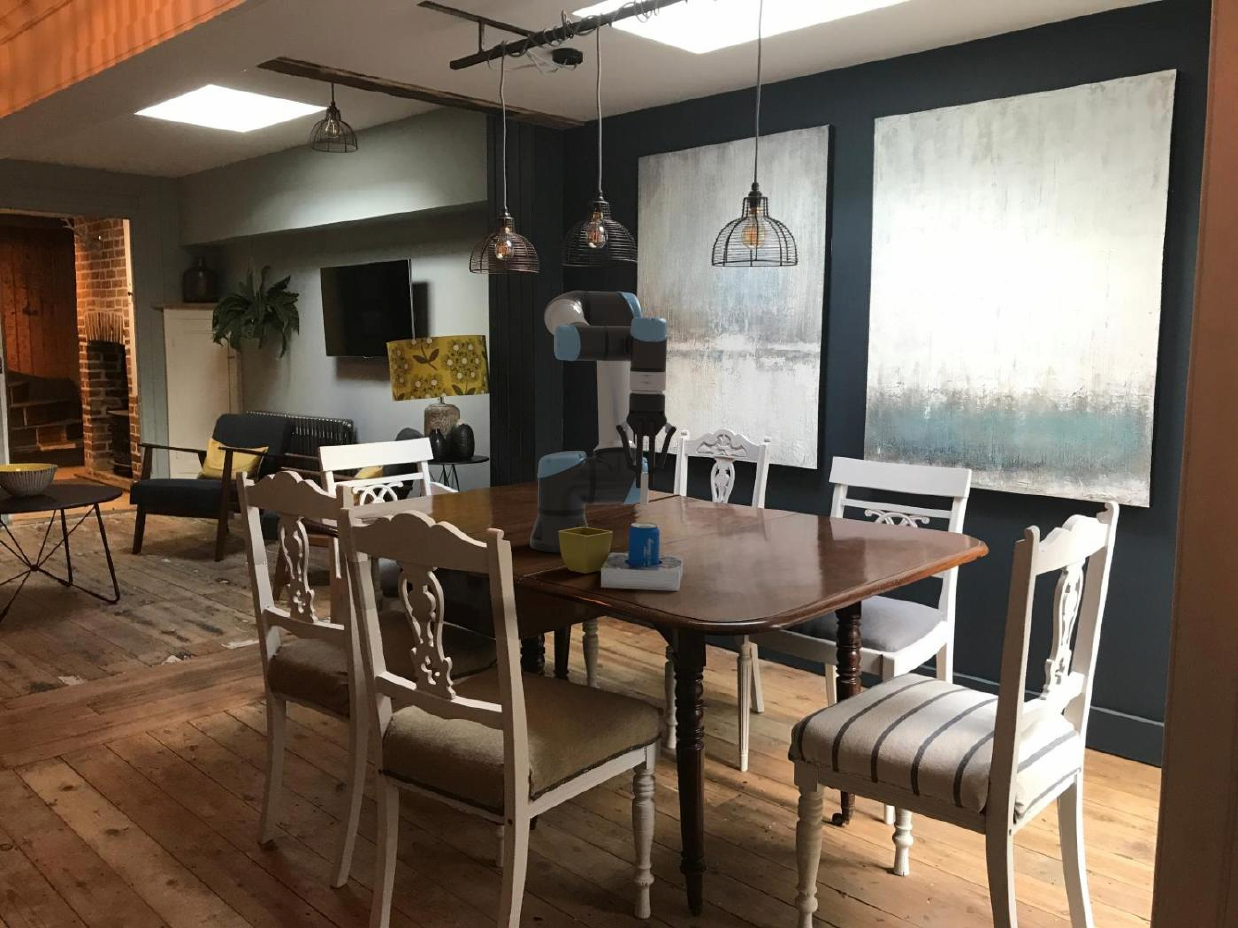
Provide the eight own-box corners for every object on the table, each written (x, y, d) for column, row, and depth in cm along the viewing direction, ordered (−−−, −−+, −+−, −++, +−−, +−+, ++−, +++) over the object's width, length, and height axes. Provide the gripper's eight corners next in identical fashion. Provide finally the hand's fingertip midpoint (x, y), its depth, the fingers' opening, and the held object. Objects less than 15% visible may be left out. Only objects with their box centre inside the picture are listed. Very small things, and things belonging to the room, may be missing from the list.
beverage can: (632, 584, 209) (634, 527, 207) (624, 577, 215) (625, 522, 213) (662, 583, 210) (663, 526, 209) (653, 576, 217) (654, 521, 215)
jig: (600, 587, 206) (601, 568, 205) (610, 570, 221) (610, 552, 221) (678, 590, 204) (679, 571, 203) (682, 573, 220) (682, 555, 219)
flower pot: (583, 564, 226) (583, 525, 225) (612, 570, 221) (613, 530, 220) (556, 571, 220) (557, 530, 219) (586, 577, 214) (587, 536, 213)
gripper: (614, 392, 205) (611, 505, 208) (677, 394, 204) (674, 508, 207) (618, 390, 212) (615, 499, 216) (679, 392, 211) (676, 501, 214)
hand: (644, 503), depth 211 cm, fingers closed
